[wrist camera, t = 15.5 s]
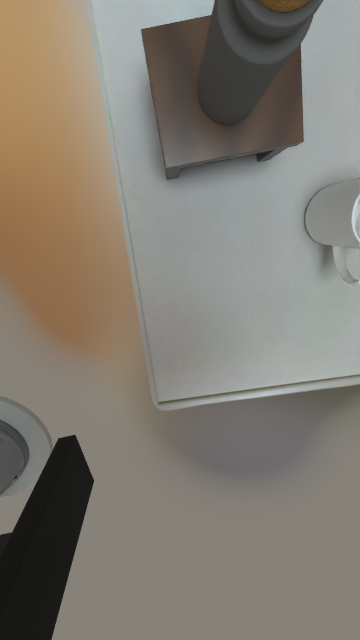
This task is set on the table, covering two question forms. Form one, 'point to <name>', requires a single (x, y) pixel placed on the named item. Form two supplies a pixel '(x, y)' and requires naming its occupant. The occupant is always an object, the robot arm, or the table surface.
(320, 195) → the mug
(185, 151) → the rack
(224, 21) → the bottle
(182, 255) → the table surface
